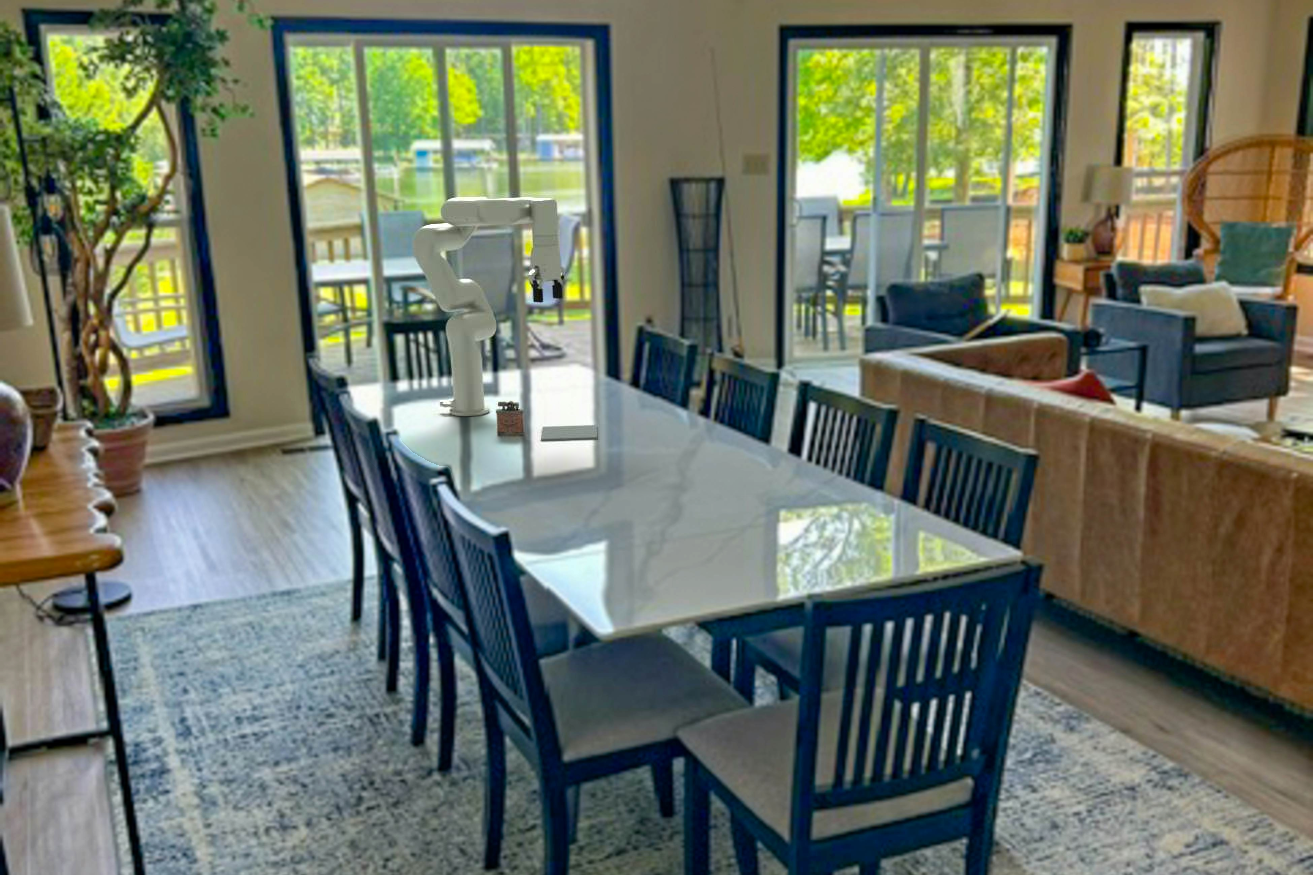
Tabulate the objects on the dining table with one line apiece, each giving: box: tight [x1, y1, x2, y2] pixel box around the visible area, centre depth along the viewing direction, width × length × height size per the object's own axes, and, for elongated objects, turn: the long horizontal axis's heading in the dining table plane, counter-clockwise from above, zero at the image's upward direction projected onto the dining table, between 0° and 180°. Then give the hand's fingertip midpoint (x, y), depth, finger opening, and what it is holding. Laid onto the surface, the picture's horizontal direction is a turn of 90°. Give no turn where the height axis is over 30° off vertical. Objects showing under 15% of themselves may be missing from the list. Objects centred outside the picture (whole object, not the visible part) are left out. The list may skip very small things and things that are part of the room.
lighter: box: [495, 400, 525, 437], centre depth 327 cm, size 8×3×10 cm, turn 84°
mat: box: [540, 424, 598, 442], centre depth 329 cm, size 16×15×1 cm
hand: (548, 300), depth 333 cm, fingers open, 9 cm apart
